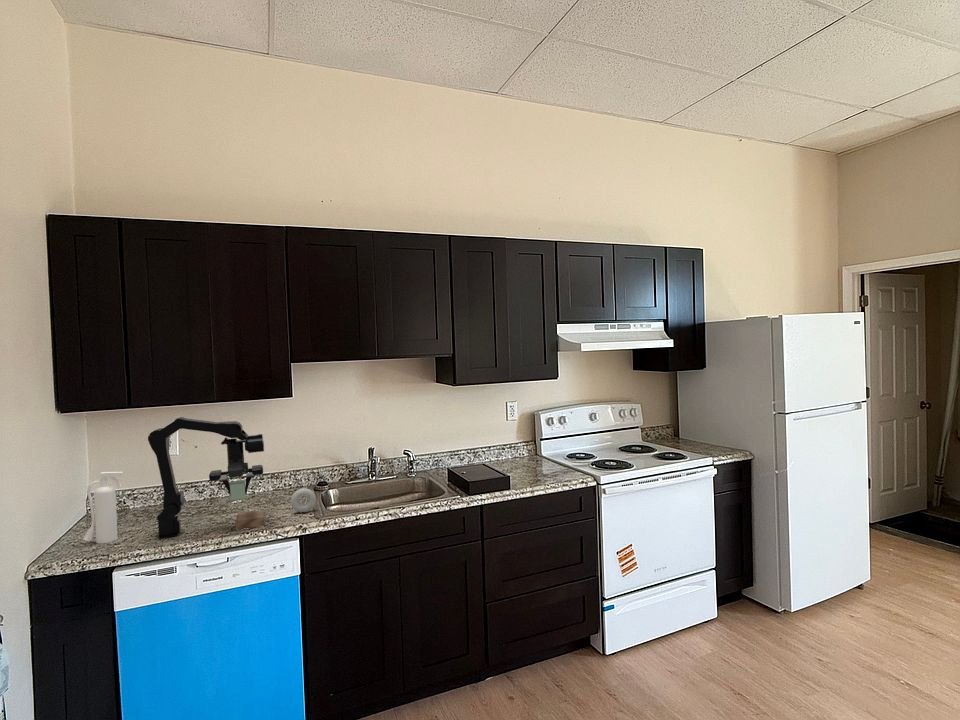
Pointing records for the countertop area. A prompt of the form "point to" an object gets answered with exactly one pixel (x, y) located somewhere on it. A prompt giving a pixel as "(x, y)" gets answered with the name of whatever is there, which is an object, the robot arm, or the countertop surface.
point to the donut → (306, 506)
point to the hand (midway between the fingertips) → (238, 494)
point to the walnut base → (250, 519)
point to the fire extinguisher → (103, 509)
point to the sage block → (237, 490)
